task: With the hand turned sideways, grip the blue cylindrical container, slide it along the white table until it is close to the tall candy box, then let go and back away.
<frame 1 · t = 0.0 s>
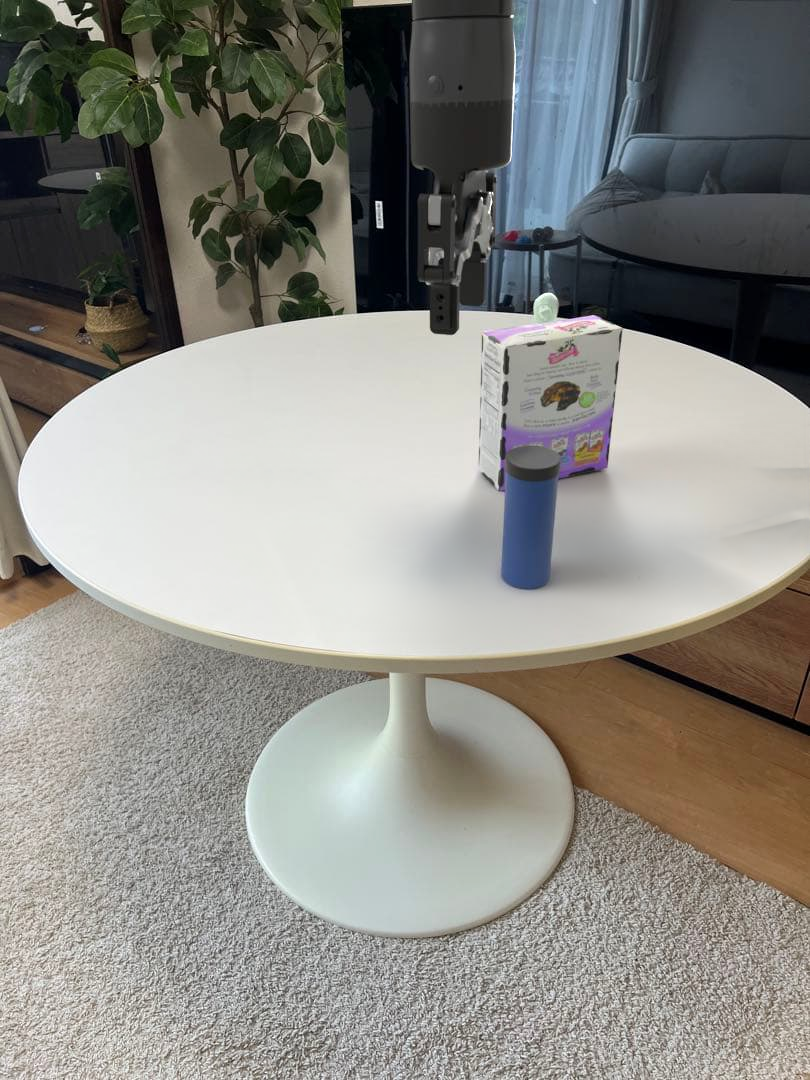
hand: (459, 318, 65), 22 cm above the table, tool pointing down, fingers open, 8 cm apart
robot head: (544, 334, 134), on the table
candy box: (542, 472, 90), on the table
blue cylindrical container: (525, 575, 72), on the table
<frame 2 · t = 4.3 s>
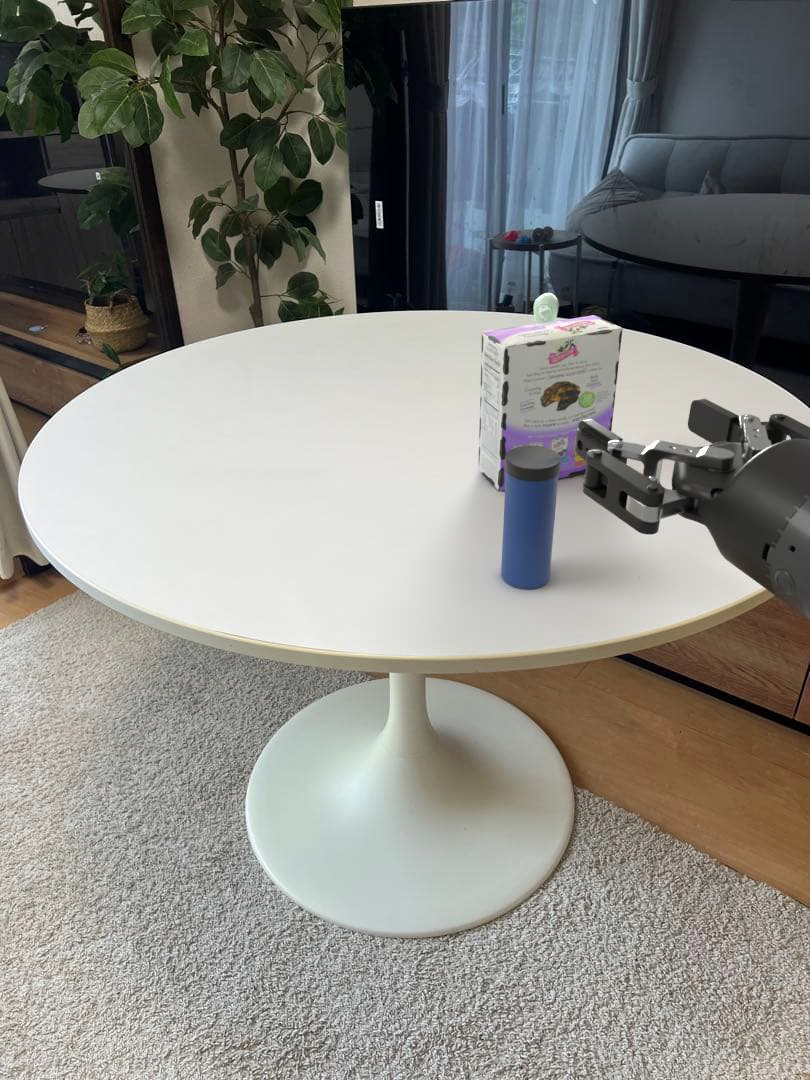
hand: (638, 423, 51), 20 cm above the table, tool horizontal, fingers open, 8 cm apart
nothing on the table moved.
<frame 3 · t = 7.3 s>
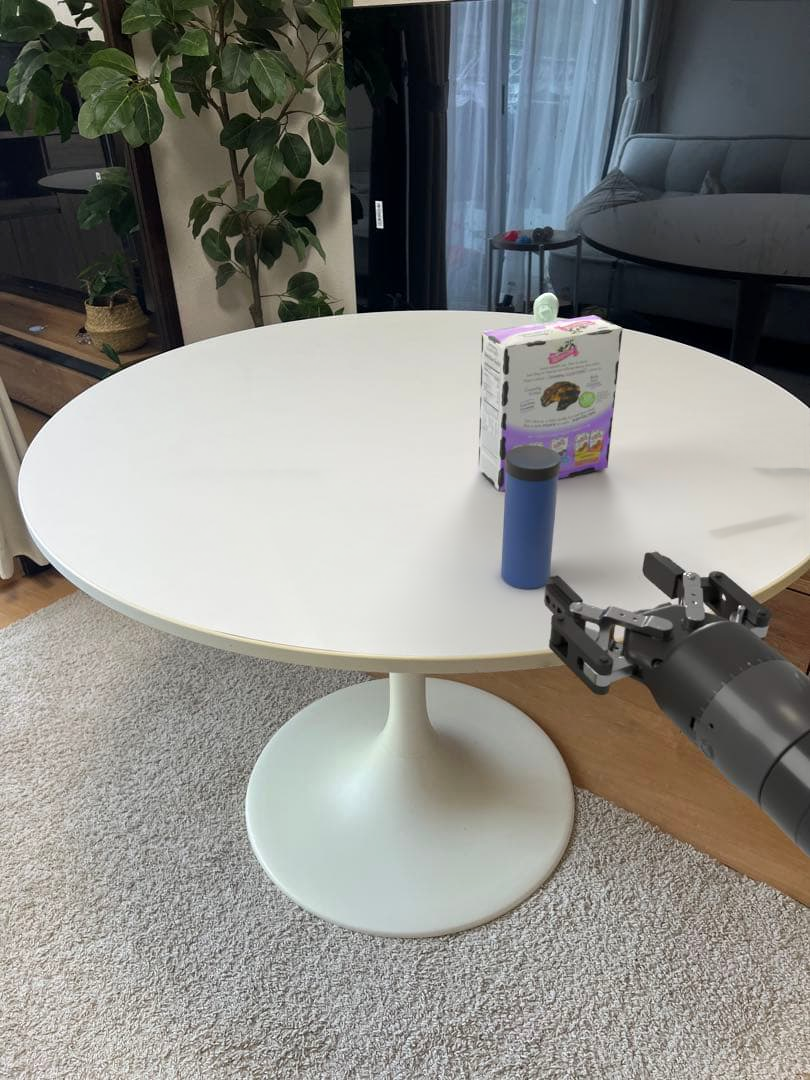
hand: (599, 573, 60), 7 cm above the table, tool horizontal, fingers open, 8 cm apart
nothing on the table moved.
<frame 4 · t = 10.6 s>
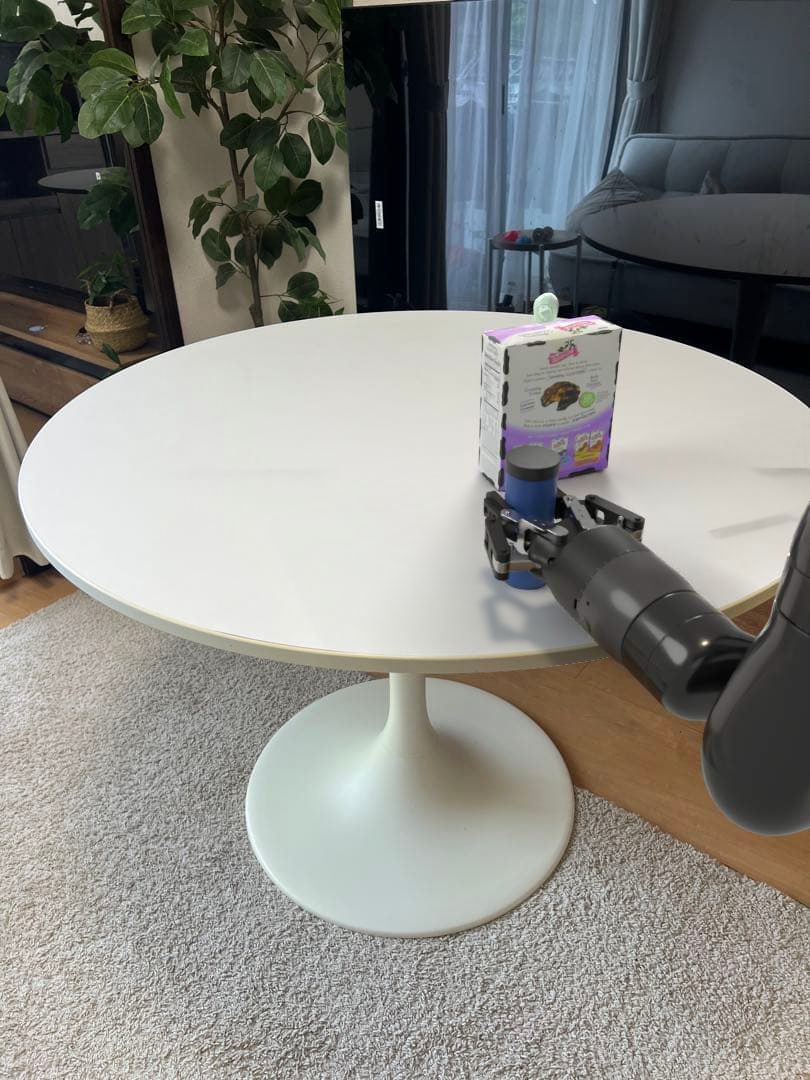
hand: (514, 495, 71), 7 cm above the table, tool horizontal, fingers closed on blue cylindrical container, 4 cm apart
blue cylindrical container: (524, 575, 72), on the table, touching gripper
everything else where it was.
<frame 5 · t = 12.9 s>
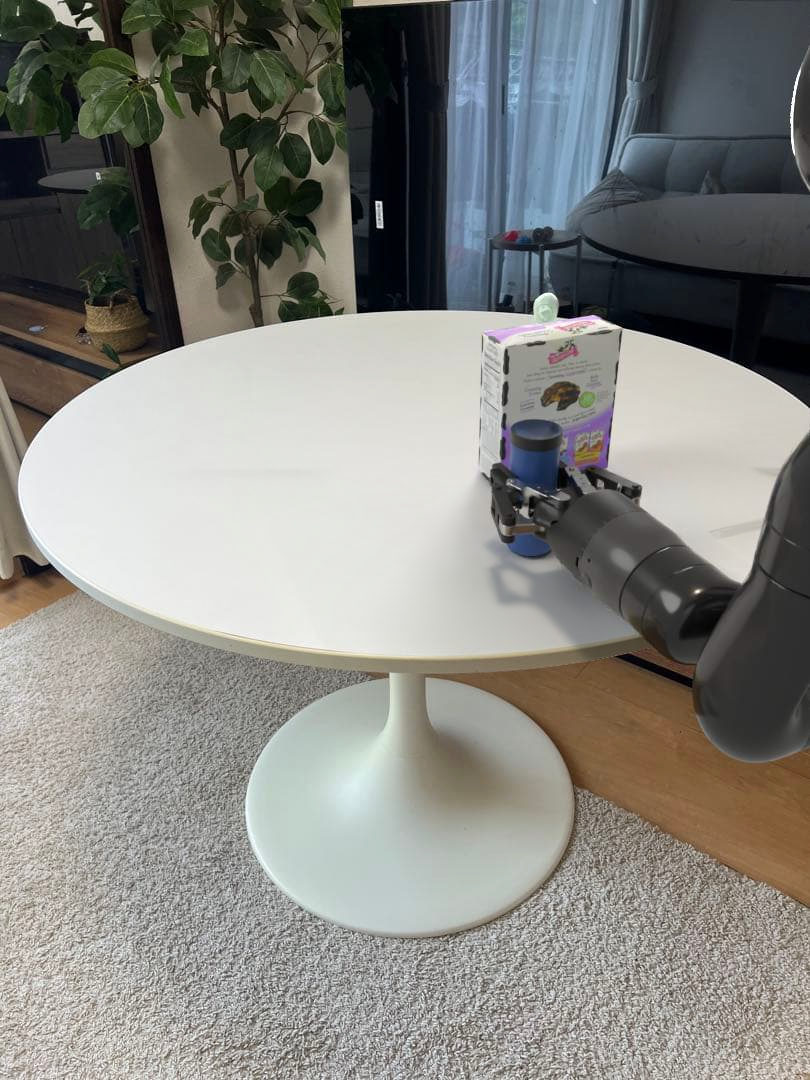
hand: (519, 467, 74), 7 cm above the table, tool horizontal, fingers closed on blue cylindrical container, 4 cm apart
blue cylindrical container: (529, 543, 76), on the table, touching gripper
everything else where it was.
when the fingers open (7 cm above the table, at t = 15.5 s): blue cylindrical container stays where it is, on the table.
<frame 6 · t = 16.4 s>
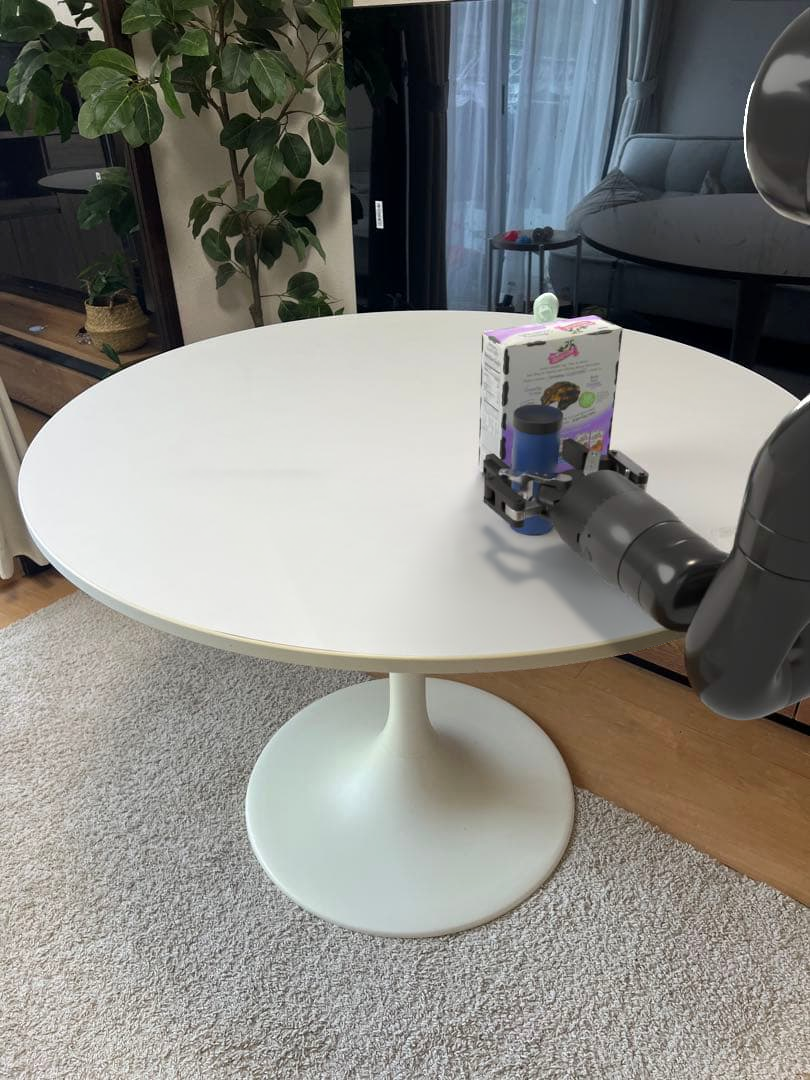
hand: (527, 454, 78), 7 cm above the table, tool horizontal, fingers open, 8 cm apart
blue cylindrical container: (530, 523, 80), on the table
everything else where it was.
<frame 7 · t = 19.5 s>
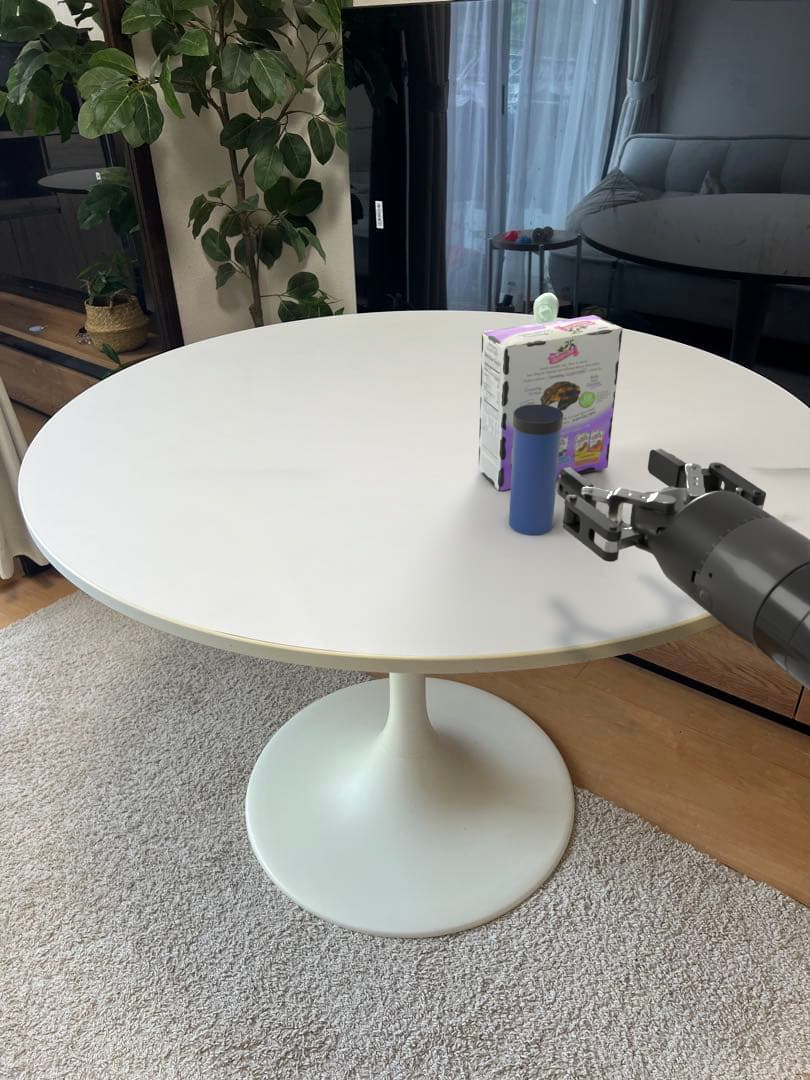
hand: (608, 468, 65), 11 cm above the table, tool horizontal, fingers open, 8 cm apart
nothing on the table moved.
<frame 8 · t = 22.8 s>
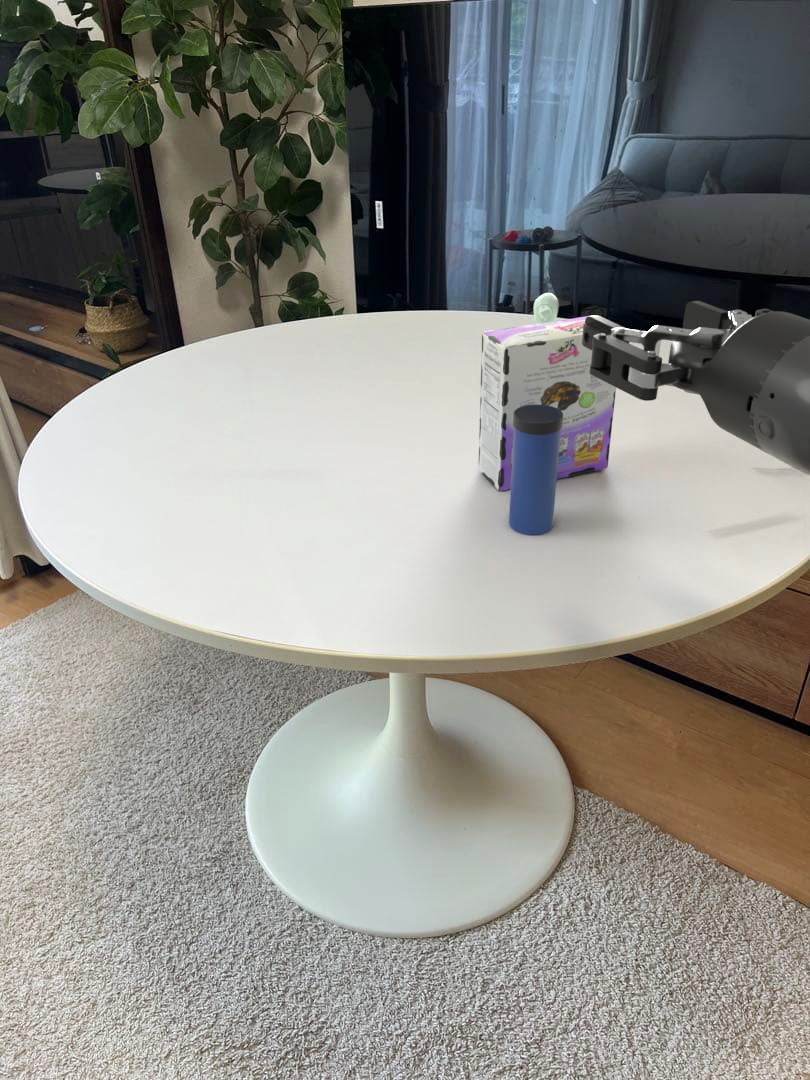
hand: (639, 322, 57), 24 cm above the table, tool horizontal, fingers open, 8 cm apart
nothing on the table moved.
at the end: blue cylindrical container 12.2 cm from the candy box (horizontally); blue cylindrical container moved 9.4 cm from its start; blue cylindrical container tilted 0° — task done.
